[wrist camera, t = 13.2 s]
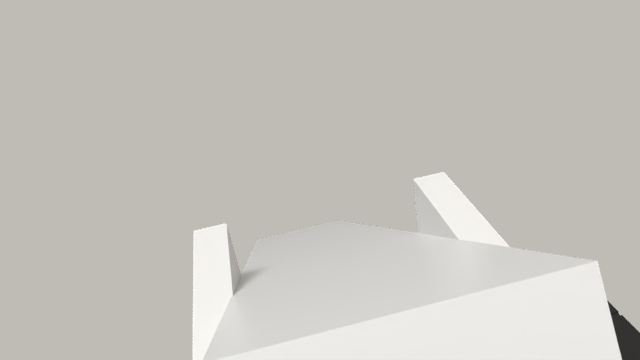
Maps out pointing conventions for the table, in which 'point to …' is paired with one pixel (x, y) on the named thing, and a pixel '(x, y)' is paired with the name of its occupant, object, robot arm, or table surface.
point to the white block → (411, 300)
